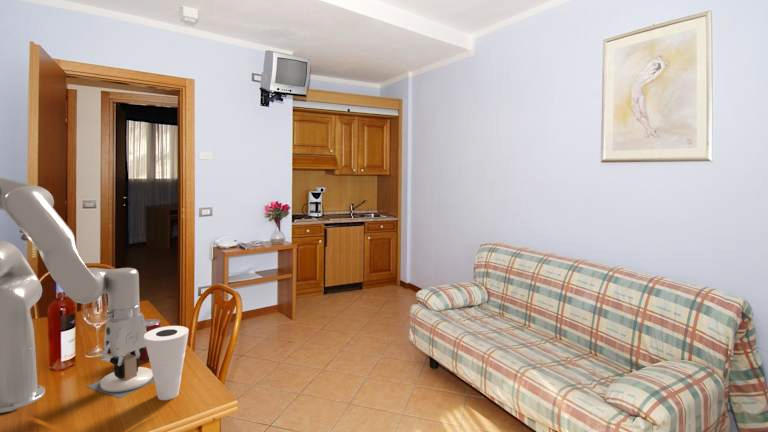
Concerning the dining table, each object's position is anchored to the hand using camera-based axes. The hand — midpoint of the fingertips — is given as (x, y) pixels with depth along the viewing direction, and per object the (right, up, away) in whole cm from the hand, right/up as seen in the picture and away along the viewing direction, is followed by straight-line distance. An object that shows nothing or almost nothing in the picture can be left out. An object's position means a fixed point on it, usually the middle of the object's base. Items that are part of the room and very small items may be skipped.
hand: (126, 373), depth 121 cm
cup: (+15, -4, -7) cm, 17 cm away
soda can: (-3, -1, +17) cm, 17 cm away
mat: (0, -3, 0) cm, 3 cm away
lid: (0, -2, 0) cm, 2 cm away
